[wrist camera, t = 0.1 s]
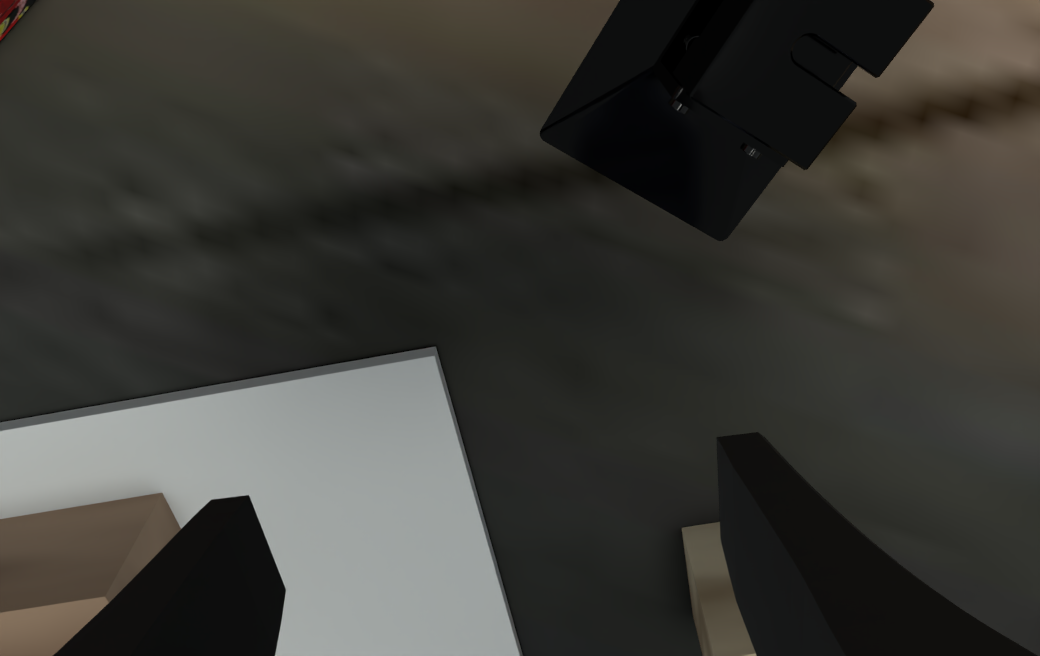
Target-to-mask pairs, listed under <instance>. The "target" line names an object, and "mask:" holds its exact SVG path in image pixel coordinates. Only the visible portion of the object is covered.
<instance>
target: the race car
mask: <svg viewBox="0 0 1040 656" xmlns="http://www.w3.org/2000/svg"><path fill="white" fill-rule="evenodd" d="M34 1H35V0H0V41H1V40H2V38H3V37H4V36H5V35H6V34H7V33H8V31H9V30H10V29H11V28H12V27H13V26H14V25H15V23H16V22H17V21H18V20H19V19H20V18H21V16H22V15H23V14H24V13H25V12H26V11H27V9H28V8H29V7H30V6H31V5H32V4H33V3H34Z"/></svg>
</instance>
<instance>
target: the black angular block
mask: <svg viewBox="0 0 1040 656" xmlns="http://www.w3.org/2000/svg"><path fill="white" fill-rule="evenodd" d="M933 7H934V3H933V2H932V1H930V0H620V1H619V3H618V5H617V6H616V8H615V9H614V11H613V13H612V14H611V16H610V18H609V19H608V21H607V23H606V24H605V26H604V27H603V29H602V31H601V32H600V34H599V36H598V37H597V39H596V40H595V42H594V44H593V45H592V47H591V49H590V50H589V52H588V54H587V55H586V57H585V58H584V60H583V62H582V63H581V65H580V67H579V68H578V70H577V72H576V73H575V75H574V76H573V78H572V80H571V81H570V83H569V85H568V86H567V88H566V89H565V91H564V93H563V94H562V96H561V98H560V99H559V101H558V103H557V104H556V106H555V107H554V109H553V111H552V112H551V114H550V116H549V117H548V119H547V121H546V122H545V124H544V125H543V127H542V129H541V131H540V137H541V139H542V140H543V141H545V142H547V143H548V144H550V145H552V146H554V147H555V148H557V149H559V150H561V151H562V152H564V153H566V154H568V155H569V156H571V157H573V158H575V159H576V160H578V161H580V162H582V163H583V164H585V165H587V166H589V167H590V168H592V169H594V170H596V171H597V172H599V173H601V174H603V175H604V176H606V177H608V178H609V179H611V180H613V181H615V182H616V183H618V184H620V185H622V186H623V187H625V188H627V189H629V190H630V191H632V192H634V193H636V194H637V195H639V196H641V197H643V198H644V199H646V200H648V201H650V202H651V203H653V204H655V205H657V206H658V207H660V208H662V209H664V210H665V211H667V212H669V213H671V214H672V215H674V216H676V217H678V218H679V219H681V220H683V221H685V222H686V223H688V224H690V225H692V226H693V227H695V228H697V229H699V230H700V231H702V232H704V233H706V234H707V235H709V236H711V237H713V238H714V239H716V240H718V241H723V240H725V239H727V238H728V237H729V235H730V234H731V233H732V231H733V230H734V229H735V227H736V226H737V225H738V223H739V222H740V221H741V219H742V218H743V217H744V215H745V214H746V213H747V212H748V210H749V209H750V208H751V206H752V205H753V204H754V202H755V201H756V200H757V198H758V197H759V196H760V194H761V193H762V192H763V190H764V189H765V188H766V186H767V185H768V184H769V182H770V181H771V180H772V178H773V177H774V176H775V174H776V173H777V172H778V171H779V169H780V168H781V167H784V165H785V164H786V163H787V162H788V160H789V161H791V162H793V163H794V164H796V165H797V166H799V167H801V168H802V169H804V170H806V169H808V168H809V167H810V165H811V164H812V163H813V161H814V160H815V159H816V158H817V156H818V155H819V154H820V152H821V151H822V150H823V149H824V147H825V146H826V145H827V143H828V142H829V141H830V140H831V138H832V137H833V136H834V134H835V133H836V132H837V131H838V129H839V128H840V127H841V125H842V124H843V123H844V122H845V120H846V119H847V118H848V116H849V115H850V114H851V113H852V111H853V110H854V109H855V107H856V102H854V101H853V100H852V99H850V98H849V97H847V96H846V95H844V94H843V93H841V92H840V91H839V90H840V89H841V87H842V86H843V85H844V83H845V82H846V81H847V79H848V78H849V77H850V75H851V74H852V73H853V71H854V70H855V69H856V67H857V66H858V67H859V68H861V69H862V70H864V71H865V72H867V73H868V74H870V75H872V76H873V77H875V78H877V77H880V75H881V74H882V73H883V71H884V70H885V69H886V68H887V66H888V65H889V64H890V62H891V61H892V60H893V59H894V57H895V56H896V55H897V53H898V52H899V51H900V50H901V48H902V47H903V46H904V44H905V43H906V42H907V41H908V39H909V38H910V37H911V35H912V34H913V33H914V32H915V30H916V29H917V28H918V26H919V25H920V24H921V23H922V21H923V20H924V19H925V17H926V16H927V15H928V14H929V12H930V11H931V10H932V8H933Z"/></svg>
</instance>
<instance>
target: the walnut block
mask: <svg viewBox="0 0 1040 656" xmlns="http://www.w3.org/2000/svg"><path fill="white" fill-rule="evenodd" d="M180 530H181V528H180V526H179V524H178V522H177V520H176V518H175V516H174V514H173V512H172V510H171V508H170V506H169V505H168V503H167V501H166V499H165V497H164V495H163V493H156V494H150V495H144V496H138V497H132V498H126V499H120V500H114V501H108V502H102V503H96V504H90V505H83V506H77V507H71V508H65V509H59V510H53V511H47V512H41V513H35V514H29V515H23V516H16V517H10V518H4V519H0V656H53V655H54V654H55V653H56V652H57V651H58V650H60V649H61V648H62V647H63V646H64V645H65V644H66V643H67V642H68V641H69V640H70V639H71V638H72V637H73V636H74V635H75V634H76V633H78V632H79V631H80V630H81V629H82V628H83V627H84V626H85V625H86V624H87V623H88V622H89V621H90V620H91V619H92V618H93V617H94V616H96V615H97V614H98V613H99V612H100V611H101V610H102V609H103V608H104V607H105V606H106V605H107V604H108V603H109V602H110V601H111V600H112V599H113V598H114V597H115V596H116V595H117V594H118V593H119V592H120V591H121V590H122V589H123V588H124V587H125V586H126V585H127V584H128V583H129V582H130V581H131V580H132V579H133V578H134V577H135V576H136V575H137V574H138V573H139V572H140V571H141V570H142V569H143V568H144V567H145V566H146V565H147V564H148V563H149V562H150V561H151V560H152V559H153V558H154V557H155V556H156V555H157V554H158V553H159V552H160V550H161V549H162V548H163V547H164V546H165V545H166V544H167V543H168V542H169V541H170V540H171V539H172V538H173V537H174V536H175V535H176V534H177V533H178V532H179V531H180Z"/></svg>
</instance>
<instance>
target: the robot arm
mask: <svg viewBox="0 0 1040 656" xmlns="http://www.w3.org/2000/svg"><path fill="white" fill-rule="evenodd" d="M717 459H718V486H719V512H720V539H721V544H722V548H723V552H724V556H725V560H726V564H727V568H728V572H729V576H730V580H731V583H732V587H733V591H734V595H735V599H736V602H737V605H738V608H739V610H740V613H741V616H742V618H743V621H744V624H745V626H746V629H747V632H748V634H749V637H750V639H751V642H752V645H753V647H754V650H755V653H756V655H757V656H1037V655H1035V654H1034V653H1032V652H1030V651H1029V650H1027V649H1025V648H1024V647H1022V646H1020V645H1019V644H1017V643H1015V642H1014V641H1012V640H1010V639H1009V638H1007V637H1005V636H1003V635H1002V634H1000V633H998V632H997V631H995V630H993V629H992V628H990V627H988V626H987V625H985V624H984V623H982V622H980V621H979V620H977V619H976V618H974V617H973V616H971V615H970V614H968V613H966V612H965V611H963V610H962V609H960V608H959V607H957V606H956V605H955V604H953V603H952V602H950V601H949V600H947V599H946V598H945V597H943V596H942V595H940V594H939V593H938V592H936V591H935V590H933V589H932V588H930V587H929V586H928V585H926V584H925V583H924V582H922V581H921V580H920V579H918V578H917V577H916V576H914V575H913V574H912V573H911V572H909V571H908V570H907V569H905V568H904V567H903V566H901V565H900V564H899V563H898V562H896V561H895V560H894V559H893V558H892V557H890V556H889V555H888V554H887V553H885V552H884V551H883V550H882V549H881V548H879V547H878V546H877V545H876V544H874V543H873V542H872V541H871V540H870V539H869V538H867V537H866V536H865V535H864V534H863V533H862V532H860V531H859V530H858V529H857V528H856V527H855V526H854V525H853V524H851V523H850V522H849V521H848V520H847V519H846V518H845V517H844V516H843V515H842V514H840V513H839V512H838V511H837V510H836V509H835V508H834V507H833V506H832V505H831V504H830V503H828V502H827V501H826V500H825V499H824V498H823V497H822V496H821V495H820V494H819V493H818V492H817V491H816V490H815V489H814V488H813V487H812V486H811V485H810V484H809V483H808V482H807V481H806V480H805V479H804V478H803V477H802V476H801V475H800V474H799V473H798V472H797V471H796V470H795V469H794V468H793V467H792V466H791V465H790V464H789V463H788V462H787V461H786V460H785V459H784V458H783V457H782V456H781V455H780V453H779V452H778V451H777V450H776V449H775V448H774V447H773V446H772V445H771V444H770V443H769V442H768V440H767V439H766V438H765V437H763V436H762V435H761V434H759V433H758V432H756V433H748V434H740V435H731V436H723V437H717ZM285 594H286V588H285V586H284V583H283V581H282V578H281V576H280V573H279V571H278V568H277V565H276V563H275V560H274V558H273V555H272V553H271V550H270V547H269V545H268V542H267V540H266V537H265V535H264V532H263V530H262V527H261V524H260V522H259V519H258V517H257V514H256V512H255V509H254V507H253V504H252V501H251V499H250V496H249V495H245V496H237V497H229V498H221V499H212V500H210V501H209V502H208V503H207V504H206V505H205V506H204V507H203V508H202V509H201V510H200V511H199V512H198V513H196V514H195V515H194V516H193V517H192V519H191V520H190V521H189V522H188V523H187V524H186V525H185V526H184V527H183V528H182V529H181V530H180V531H179V532H178V533H177V534H176V535H175V536H174V537H173V538H172V539H171V540H170V541H169V542H168V543H167V544H166V545H165V546H164V547H163V548H162V549H161V550H160V552H159V553H158V554H157V555H156V556H155V557H154V558H153V559H152V560H151V561H150V562H149V563H148V564H147V565H146V566H145V567H144V568H143V569H142V570H141V571H140V572H139V573H138V574H137V575H136V576H135V577H134V578H133V579H132V580H131V581H130V582H129V583H128V584H127V585H126V586H125V587H124V588H123V589H122V590H121V591H120V592H119V593H118V594H117V595H116V596H115V597H114V598H113V599H112V600H111V601H110V602H109V603H108V604H107V605H106V606H105V607H104V608H103V609H102V610H101V611H100V612H99V613H98V614H97V615H96V616H94V617H93V618H92V619H91V620H90V621H89V622H88V623H87V624H86V625H85V626H84V627H83V628H82V629H81V630H80V631H79V632H78V633H76V634H75V635H74V636H73V637H72V638H71V639H70V640H69V641H68V642H67V643H66V644H65V645H64V646H63V647H62V648H61V649H60V650H58V651H57V652H56V653H55V654H54V655H53V656H275V653H276V648H277V643H278V638H279V632H280V627H281V621H282V614H283V607H284V601H285Z"/></svg>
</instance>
